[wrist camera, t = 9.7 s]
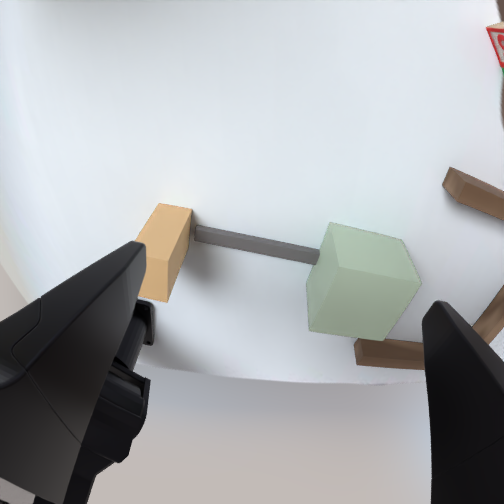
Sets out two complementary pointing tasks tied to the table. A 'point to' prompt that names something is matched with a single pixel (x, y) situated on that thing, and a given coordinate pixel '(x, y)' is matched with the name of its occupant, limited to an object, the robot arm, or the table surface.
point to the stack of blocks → (497, 41)
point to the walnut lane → (491, 321)
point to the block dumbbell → (324, 262)
